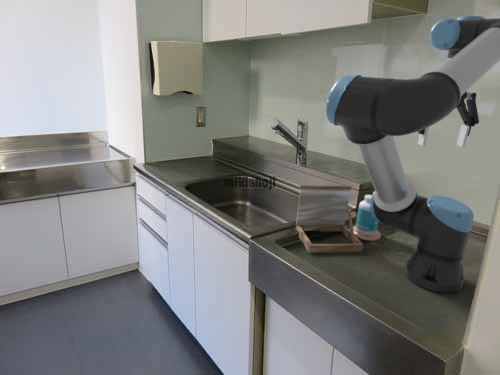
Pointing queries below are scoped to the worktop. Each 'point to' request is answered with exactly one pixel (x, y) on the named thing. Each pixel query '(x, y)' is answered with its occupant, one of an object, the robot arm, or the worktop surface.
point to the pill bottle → (366, 218)
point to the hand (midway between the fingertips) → (440, 145)
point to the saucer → (368, 238)
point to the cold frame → (326, 216)
